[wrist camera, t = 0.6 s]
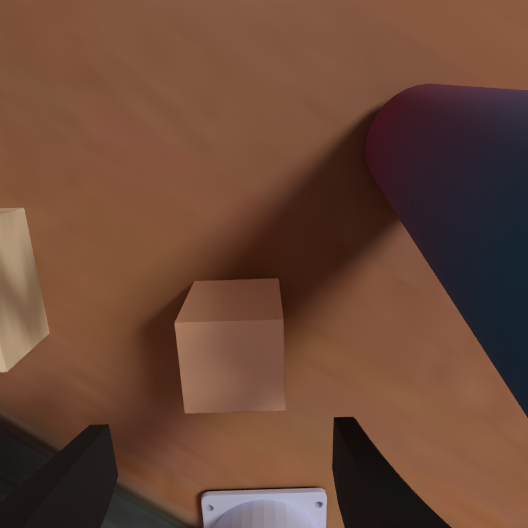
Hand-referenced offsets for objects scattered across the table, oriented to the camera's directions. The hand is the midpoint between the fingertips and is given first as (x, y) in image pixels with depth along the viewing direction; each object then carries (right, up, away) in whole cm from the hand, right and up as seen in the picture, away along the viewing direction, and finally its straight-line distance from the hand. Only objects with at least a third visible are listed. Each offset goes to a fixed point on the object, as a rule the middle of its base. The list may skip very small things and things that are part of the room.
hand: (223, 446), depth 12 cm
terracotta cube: (0, +3, +9) cm, 10 cm away
